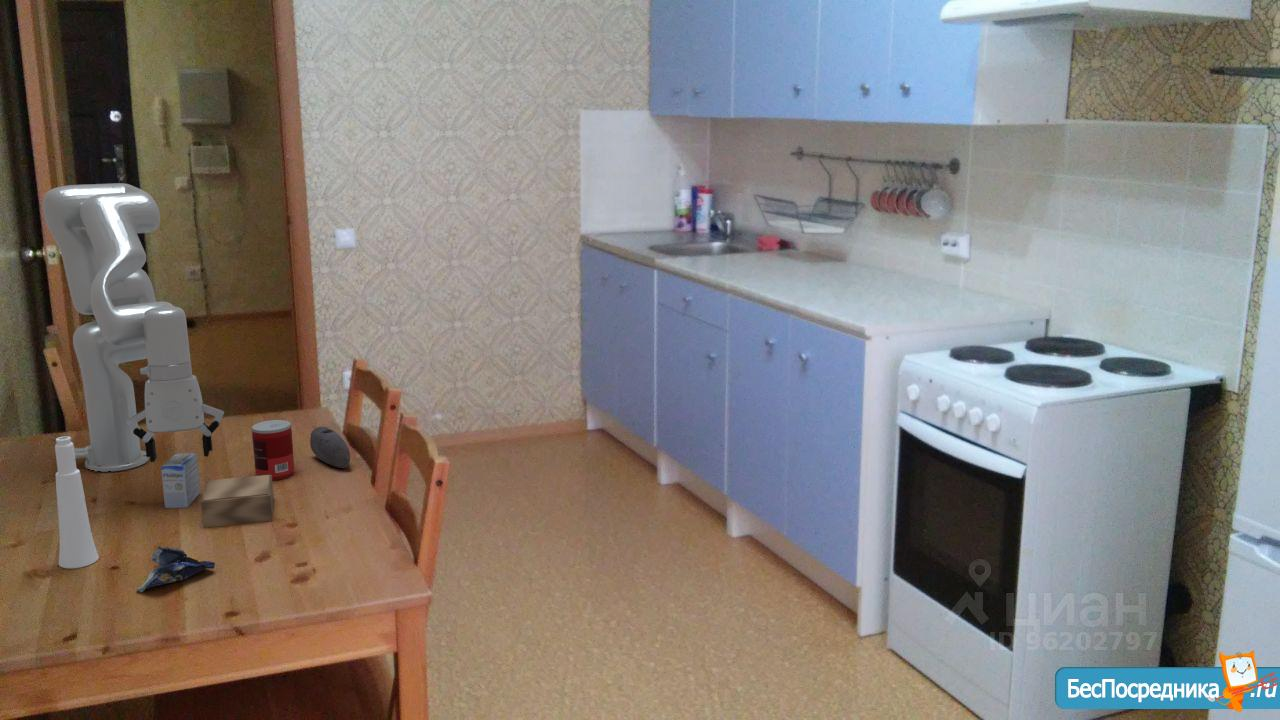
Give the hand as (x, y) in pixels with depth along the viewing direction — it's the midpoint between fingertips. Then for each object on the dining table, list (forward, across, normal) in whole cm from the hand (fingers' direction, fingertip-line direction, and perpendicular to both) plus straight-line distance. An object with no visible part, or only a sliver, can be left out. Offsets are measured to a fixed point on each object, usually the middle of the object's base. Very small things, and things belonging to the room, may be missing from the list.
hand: (180, 457), depth 206 cm
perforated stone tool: (+10, +28, +16) cm, 34 cm away
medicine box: (+9, 0, +1) cm, 9 cm away
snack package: (+11, +2, -37) cm, 38 cm away
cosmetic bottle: (+10, -14, -25) cm, 31 cm away
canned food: (+9, +16, +12) cm, 22 cm away
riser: (+10, +10, -9) cm, 17 cm away
